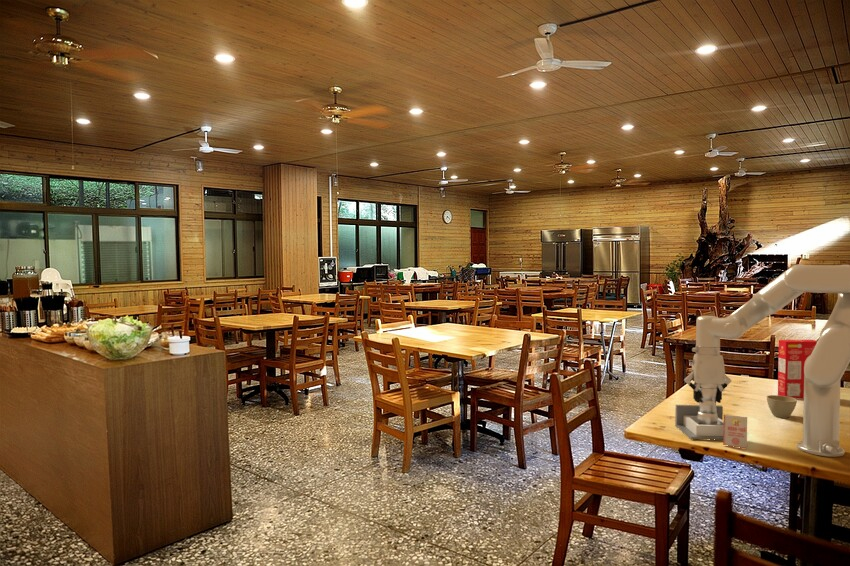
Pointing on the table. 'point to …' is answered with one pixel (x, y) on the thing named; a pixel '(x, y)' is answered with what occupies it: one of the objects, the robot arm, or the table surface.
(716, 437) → the housing
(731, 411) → the table surface
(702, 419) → the plastic bottle
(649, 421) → the table surface
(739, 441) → the beige printed carton
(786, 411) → the flower pot
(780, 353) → the food packaging
